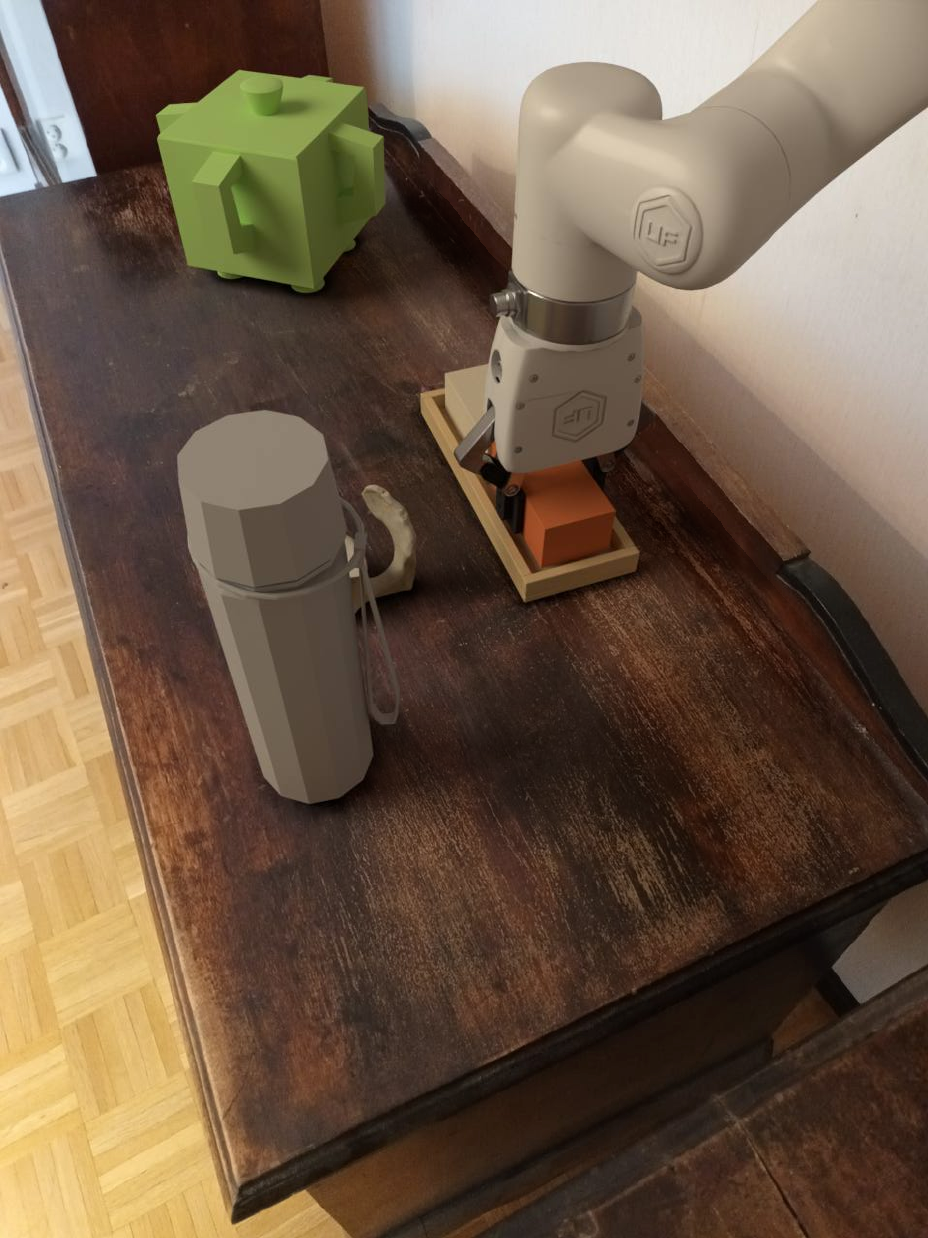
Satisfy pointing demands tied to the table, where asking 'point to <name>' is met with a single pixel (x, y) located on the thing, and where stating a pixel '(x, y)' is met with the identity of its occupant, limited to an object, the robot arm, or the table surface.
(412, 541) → the bone
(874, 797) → the table surface
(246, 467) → the water bottle
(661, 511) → the table surface
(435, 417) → the wooden tray
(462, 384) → the cream rectangular block
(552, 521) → the orange angular block
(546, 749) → the table surface
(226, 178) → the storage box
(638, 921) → the table surface
